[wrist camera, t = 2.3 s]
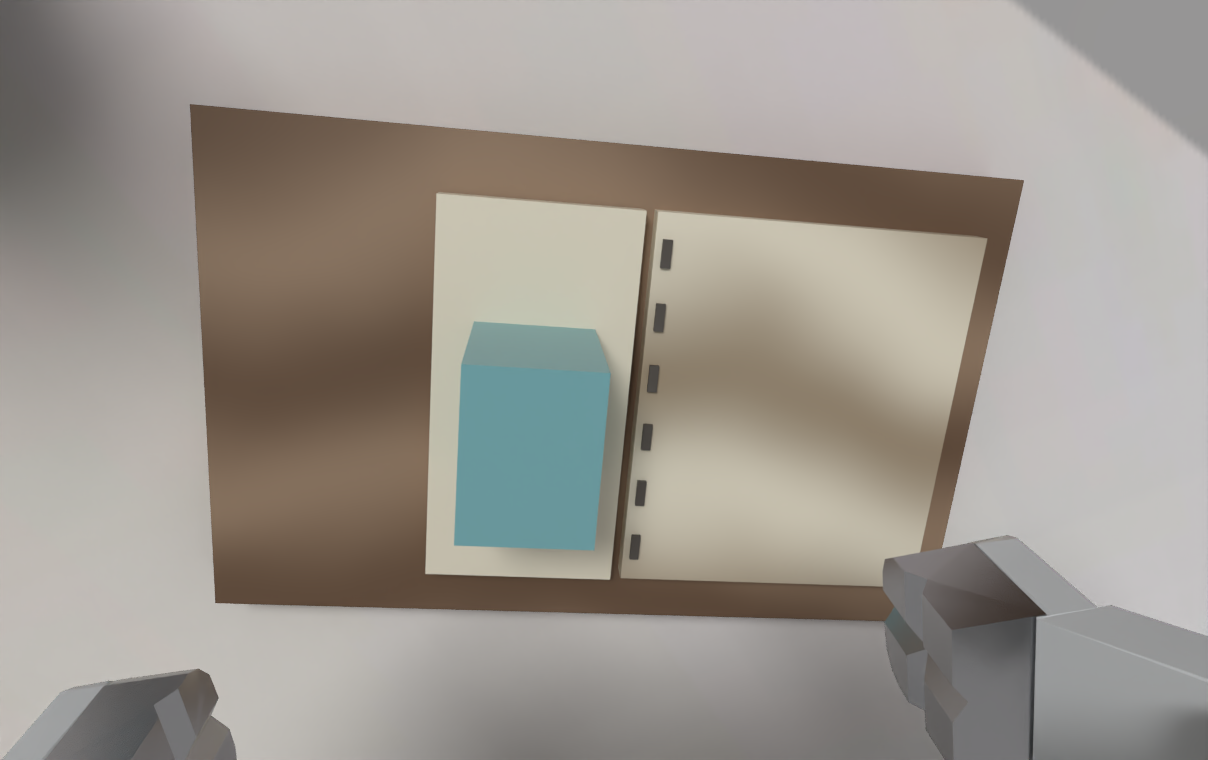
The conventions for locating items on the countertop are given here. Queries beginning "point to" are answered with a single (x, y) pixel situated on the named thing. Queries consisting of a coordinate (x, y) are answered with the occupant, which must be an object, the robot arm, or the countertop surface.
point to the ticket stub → (529, 384)
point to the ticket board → (658, 371)
